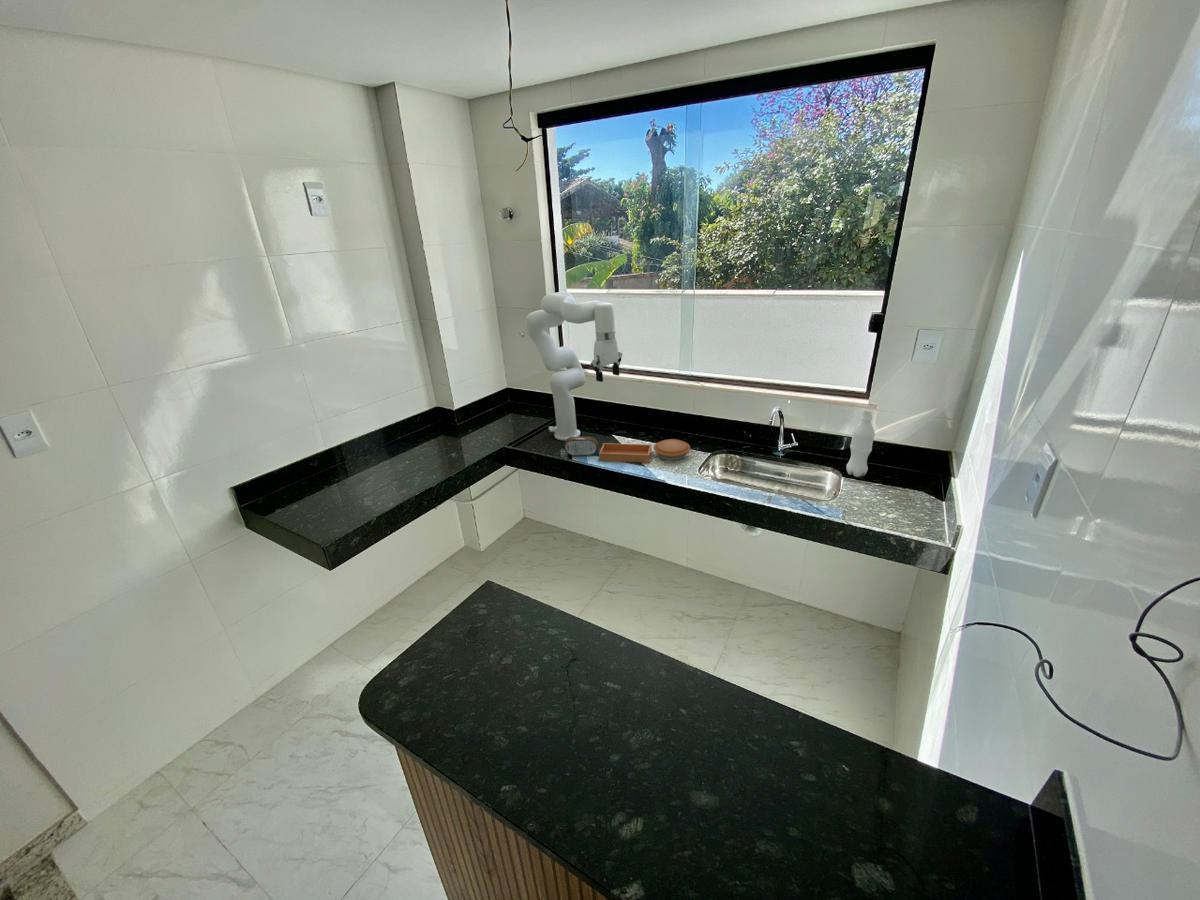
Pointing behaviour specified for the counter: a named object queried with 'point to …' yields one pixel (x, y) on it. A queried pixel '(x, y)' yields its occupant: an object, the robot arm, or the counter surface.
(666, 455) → the pie
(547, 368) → the robot arm
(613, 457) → the brown wooden tray
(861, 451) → the water bottle
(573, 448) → the tin
